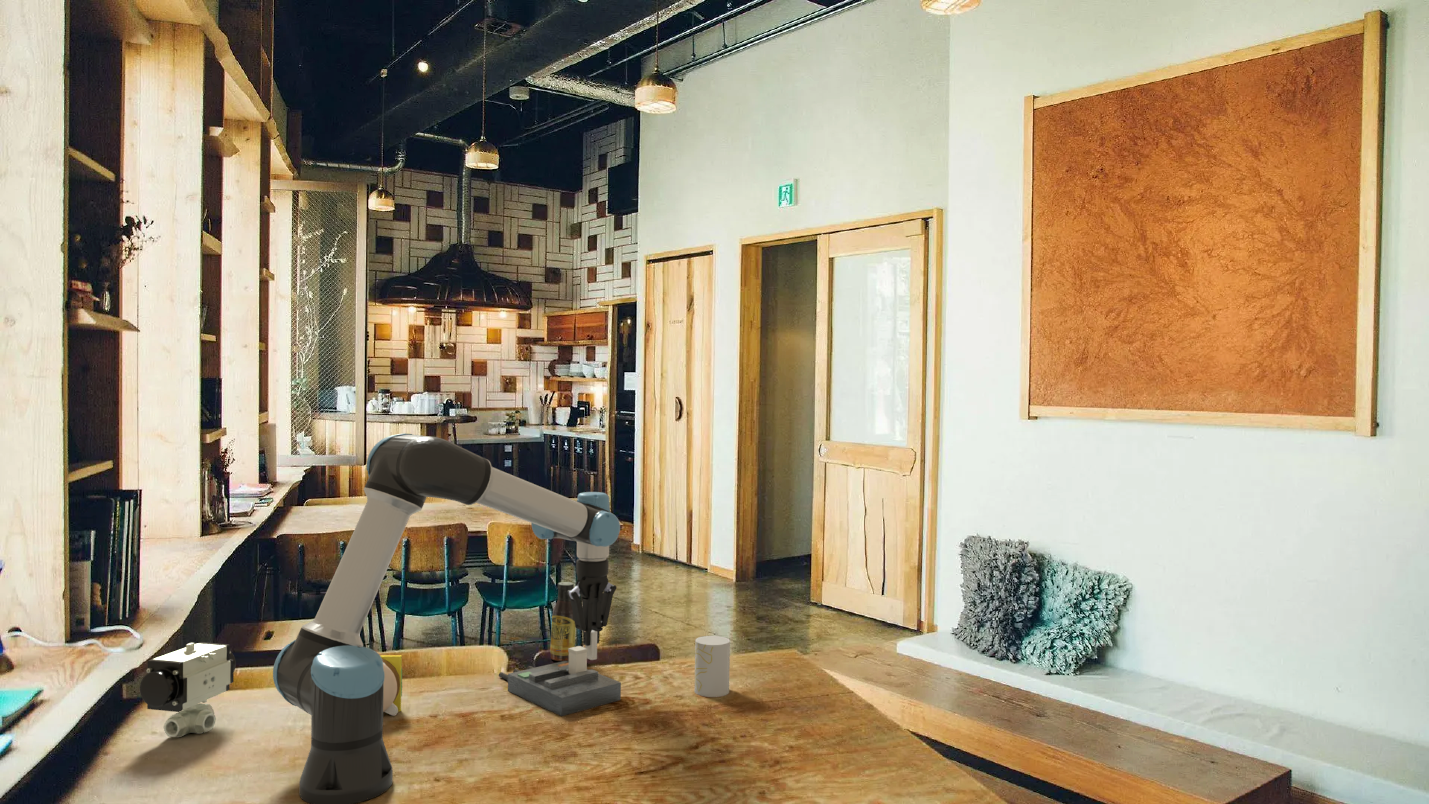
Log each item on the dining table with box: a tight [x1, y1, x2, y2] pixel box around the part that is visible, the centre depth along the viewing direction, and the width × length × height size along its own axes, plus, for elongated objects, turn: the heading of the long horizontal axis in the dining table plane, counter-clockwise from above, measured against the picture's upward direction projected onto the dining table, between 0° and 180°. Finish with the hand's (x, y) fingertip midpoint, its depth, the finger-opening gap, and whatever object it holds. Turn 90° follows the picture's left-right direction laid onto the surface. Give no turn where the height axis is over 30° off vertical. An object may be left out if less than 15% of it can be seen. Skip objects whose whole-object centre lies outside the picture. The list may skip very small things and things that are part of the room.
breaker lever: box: [568, 645, 588, 674], centre depth 212 cm, size 3×3×6 cm
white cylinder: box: [694, 635, 731, 698], centre depth 215 cm, size 8×8×12 cm
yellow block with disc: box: [379, 654, 403, 716], centre depth 196 cm, size 12×8×12 cm
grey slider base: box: [498, 660, 622, 717], centre depth 213 cm, size 32×16×5 cm, turn 43°
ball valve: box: [139, 641, 237, 738], centre depth 184 cm, size 18×8×18 cm, turn 168°
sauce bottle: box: [549, 581, 576, 662], centre depth 238 cm, size 7×6×20 cm
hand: (590, 658), depth 215 cm, fingers closed
